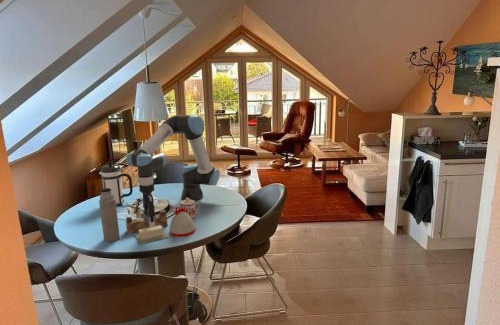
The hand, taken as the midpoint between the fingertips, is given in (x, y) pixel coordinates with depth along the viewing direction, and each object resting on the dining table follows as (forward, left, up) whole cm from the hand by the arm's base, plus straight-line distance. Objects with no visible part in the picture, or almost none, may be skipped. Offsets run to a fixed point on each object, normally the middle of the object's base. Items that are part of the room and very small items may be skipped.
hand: (150, 224), depth 199 cm
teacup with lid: (-29, -18, -8) cm, 35 cm away
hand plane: (-1, -13, -7) cm, 15 cm away
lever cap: (0, 0, +3) cm, 3 cm away
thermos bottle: (+19, -9, -7) cm, 22 cm away
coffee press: (+7, -66, -7) cm, 67 cm away
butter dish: (0, 0, -7) cm, 7 cm away
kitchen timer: (-17, +2, -8) cm, 19 cm away
